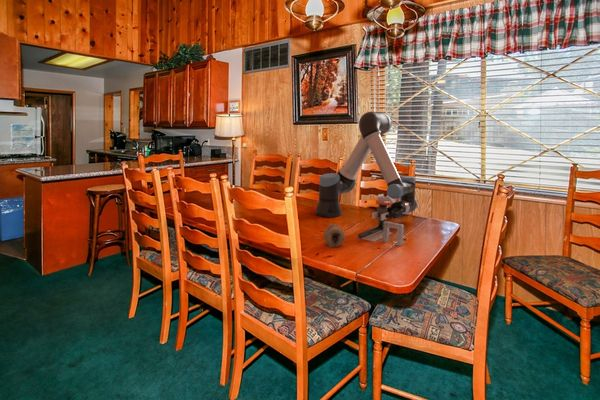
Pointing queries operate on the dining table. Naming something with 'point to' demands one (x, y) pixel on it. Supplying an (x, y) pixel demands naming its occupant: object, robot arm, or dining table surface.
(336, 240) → the grey round lumpy ball
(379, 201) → the hook
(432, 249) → the dining table surface
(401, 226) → the grey u-shaped bracket
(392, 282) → the dining table surface
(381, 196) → the wall hook
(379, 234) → the pad
